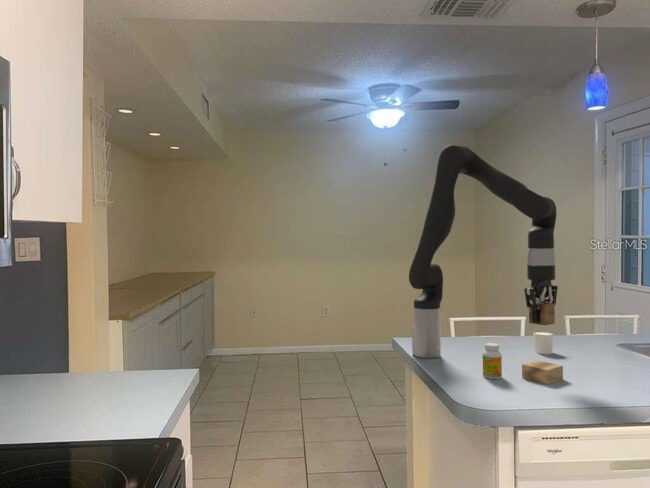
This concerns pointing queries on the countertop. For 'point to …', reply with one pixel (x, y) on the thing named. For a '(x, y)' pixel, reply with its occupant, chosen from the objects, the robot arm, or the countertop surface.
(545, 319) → the walnut block
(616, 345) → the countertop surface
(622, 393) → the countertop surface
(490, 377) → the supplement bottle
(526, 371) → the oak pedestal
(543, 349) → the white cylinder
